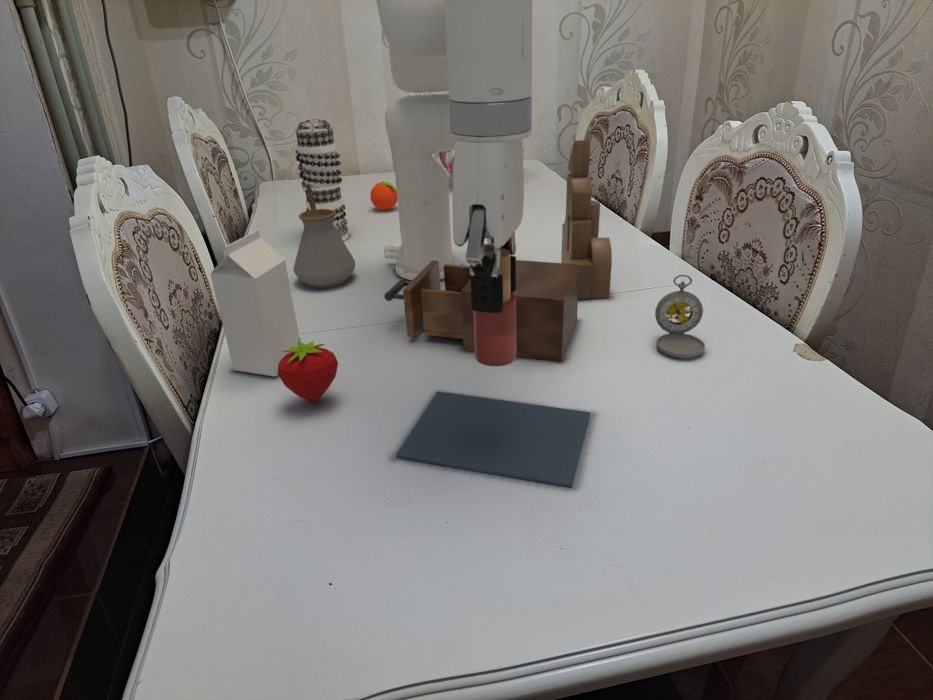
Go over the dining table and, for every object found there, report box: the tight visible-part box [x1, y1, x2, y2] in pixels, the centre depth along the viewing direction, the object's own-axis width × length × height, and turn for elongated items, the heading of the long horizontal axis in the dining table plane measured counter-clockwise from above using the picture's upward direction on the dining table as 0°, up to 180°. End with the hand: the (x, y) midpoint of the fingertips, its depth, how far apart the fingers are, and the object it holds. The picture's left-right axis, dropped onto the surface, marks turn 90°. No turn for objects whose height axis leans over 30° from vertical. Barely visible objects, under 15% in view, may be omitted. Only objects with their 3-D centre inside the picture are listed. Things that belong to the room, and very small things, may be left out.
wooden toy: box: [560, 139, 613, 301], centre depth 110 cm, size 16×7×25 cm, turn 1°
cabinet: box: [461, 259, 580, 363], centre depth 97 cm, size 15×14×10 cm
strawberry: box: [277, 337, 339, 404], centre depth 82 cm, size 6×8×10 cm
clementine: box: [369, 181, 398, 211], centre depth 161 cm, size 8×7×7 cm
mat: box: [395, 391, 591, 488], centre depth 76 cm, size 20×14×1 cm
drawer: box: [383, 261, 471, 340], centre depth 100 cm, size 18×12×8 cm
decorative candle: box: [294, 118, 349, 241], centre depth 139 cm, size 9×9×25 cm
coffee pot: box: [292, 184, 356, 289], centre depth 123 cm, size 21×12×15 cm, turn 17°
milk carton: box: [210, 229, 301, 378], centre depth 90 cm, size 7×7×19 cm
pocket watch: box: [654, 274, 706, 359], centre depth 92 cm, size 8×8×10 cm
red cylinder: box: [473, 248, 517, 367], centre depth 68 cm, size 5×5×12 cm
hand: (494, 298), depth 68 cm, fingers closed on red cylinder, 4 cm apart
